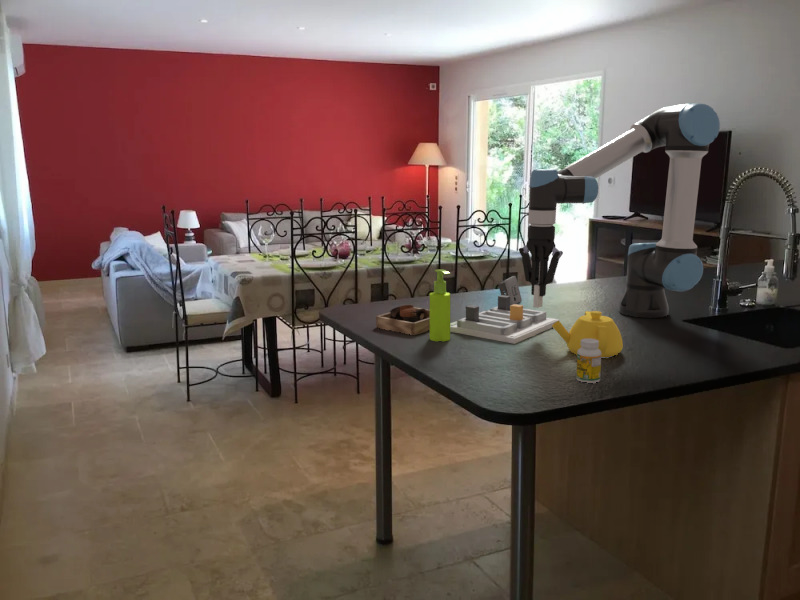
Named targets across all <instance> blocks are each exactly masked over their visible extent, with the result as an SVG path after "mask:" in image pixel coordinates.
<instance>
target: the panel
mask: <svg viewBox="0 0 800 600" xmlns="http://www.w3.org/2000/svg"><path fill="white" fill-rule="evenodd" d="M557 321H560V322H561V320H560V319H558V318H553V317H547V311H542V310H535V309H530V308H529V309H528V308H523V319H522V320H520V321H519V320H513V319H510V311H507V310H501V309H498V305H497V306H495V307H492V308H489V309H488V310H487V309H486V310H483V311H481V312H480V311H479V322H473V321H468V320H466V316H465V317H462V318H460V319H457V320H456V321H453V322H450V333H456V334H462V335H467V336H473V337H478V338H483V339H488V340H493V341H499V342H503V343H509V344H513V345H514V344H517V343H520V342H523V341H524V340H526V339H529V338H531V337H534V336H536V335H538V334H541V333H542V332H544V331H547V330H550V329H552V328H553V327H552V325H553V324H554V323H555V322H557Z"/></svg>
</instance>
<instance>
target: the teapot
mask: <svg viewBox="0 0 800 600" xmlns="http://www.w3.org/2000/svg"><path fill="white" fill-rule="evenodd" d="M602 313H603V312H601V311H599V310H593V311H591V310H590V311H584V315H581V316H580V317H578V318H577V319H576V321H575V322H574V323H573V325H572V326H571V328H570V330H569V331H568V329H566V328H565V326H564V325H563V324H562V322H561V320H560V321H557V322H555V323H554V324H553V325H552V328H553V329H554V330H555V332H556V333H558V335H559V336H560V337H561V338H562V340H563V341H564V342H565V343H566V346H567V348H568V350H569V351H570V352H571V353H572V354H573V353H574V354H573V355H575V354H576V355H575V356H577V351H578V349H580V348H581V345H580V344H581V339H586V338H590V339H596V340H598V341H599V346H598V349H599V350H600V351H601V357H610V356H614V355H616V356H618V355H619V354H618V353H621V352H622V350H623V348H624V346H623V345H624V344H623V343H624V342H623V337H622V334H621V331H620V329H619V327H618V326H617V324H616V322H615V320H614V319H613V318H611V317H610V316H606V315H602Z"/></svg>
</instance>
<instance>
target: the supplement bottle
mask: <svg viewBox="0 0 800 600" xmlns="http://www.w3.org/2000/svg"><path fill="white" fill-rule="evenodd" d="M580 345H581V348H580V349H578V351H577V355H576V380H577V381H578V380H579V381H581V382H580V383H582V382H587V383H586V384H588V383H593V384H597V383H596V382H598V383H599V382H600V381H601V372H602V370H601V368H602V359H601V351H600V350H599V349H598V346H599V341H598V340H596V339H590V338H586V339H581V344H580ZM579 381H578V382H579Z"/></svg>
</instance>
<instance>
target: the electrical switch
mask: <svg viewBox="0 0 800 600" xmlns="http://www.w3.org/2000/svg"><path fill="white" fill-rule="evenodd" d="M497 285H498V289H499V292H500V296H501V295H505V296H510V305H513V304H517V305H518V304H519V303H521V302H522V301H523V300H522V299H523V298H522V295H521V291H520V287H519V283H518V280H517V277H516V275H512V276H511V277H508V278H506V279H504V280H502V281H501V282H499V283H498V284H497Z"/></svg>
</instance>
